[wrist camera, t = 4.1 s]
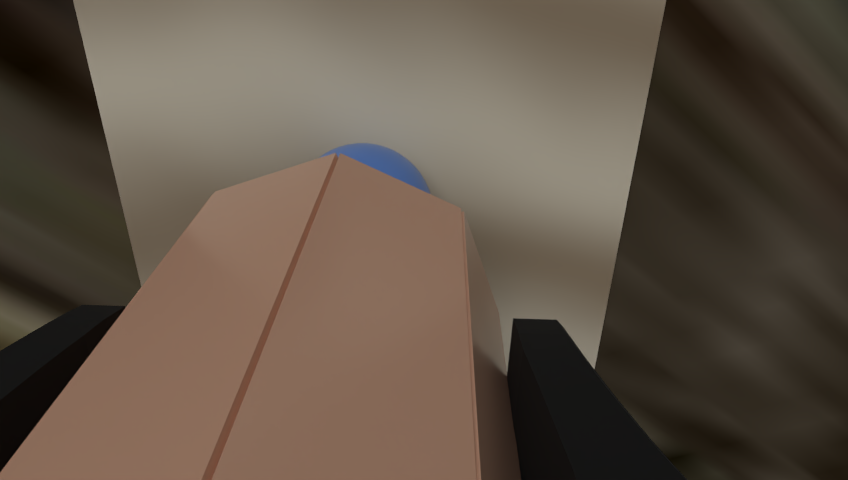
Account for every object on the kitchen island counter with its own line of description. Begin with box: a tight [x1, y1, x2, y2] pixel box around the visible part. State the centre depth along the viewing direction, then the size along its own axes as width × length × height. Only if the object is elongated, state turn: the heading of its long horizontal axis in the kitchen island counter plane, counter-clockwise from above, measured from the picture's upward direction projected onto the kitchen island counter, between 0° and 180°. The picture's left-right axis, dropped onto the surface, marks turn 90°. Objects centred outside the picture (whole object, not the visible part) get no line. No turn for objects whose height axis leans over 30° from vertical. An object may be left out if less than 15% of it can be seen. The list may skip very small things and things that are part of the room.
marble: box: [319, 143, 430, 194], centre depth 13 cm, size 3×3×3 cm
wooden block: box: [0, 153, 521, 480], centre depth 8 cm, size 5×5×6 cm
